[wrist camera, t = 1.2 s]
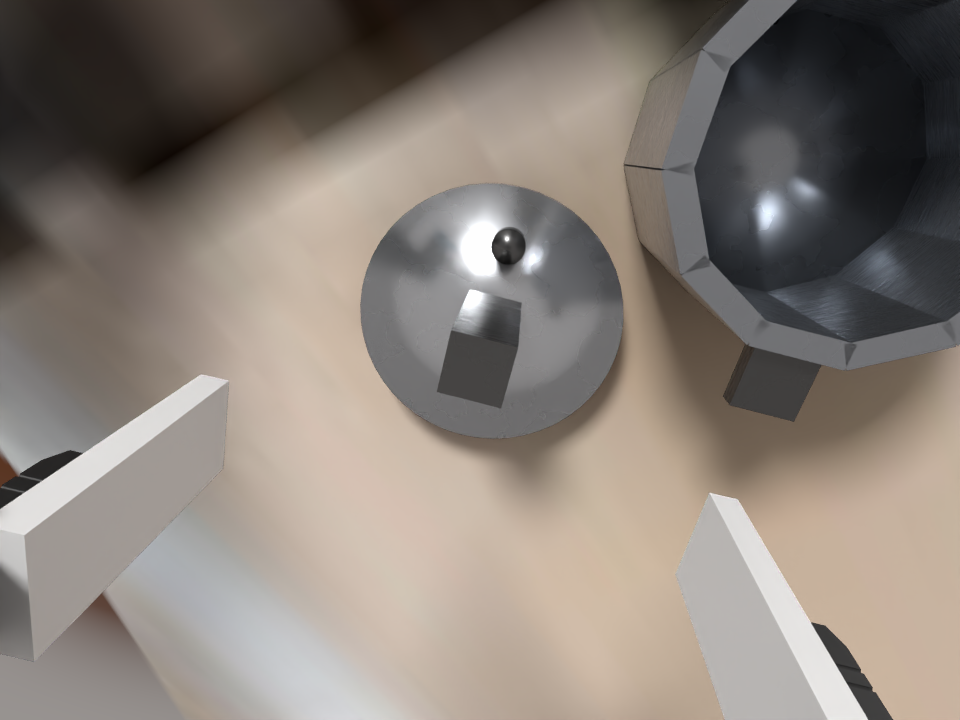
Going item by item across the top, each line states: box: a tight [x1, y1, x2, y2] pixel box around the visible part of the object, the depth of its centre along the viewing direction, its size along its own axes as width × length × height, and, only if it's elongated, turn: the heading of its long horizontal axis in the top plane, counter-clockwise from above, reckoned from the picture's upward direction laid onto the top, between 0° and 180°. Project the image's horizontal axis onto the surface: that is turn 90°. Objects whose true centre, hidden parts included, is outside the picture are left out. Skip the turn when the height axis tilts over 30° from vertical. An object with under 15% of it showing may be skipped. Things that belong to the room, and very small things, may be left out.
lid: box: [360, 183, 623, 439], centre depth 30 cm, size 15×15×11 cm
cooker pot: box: [624, 0, 960, 422], centre depth 26 cm, size 16×22×10 cm
